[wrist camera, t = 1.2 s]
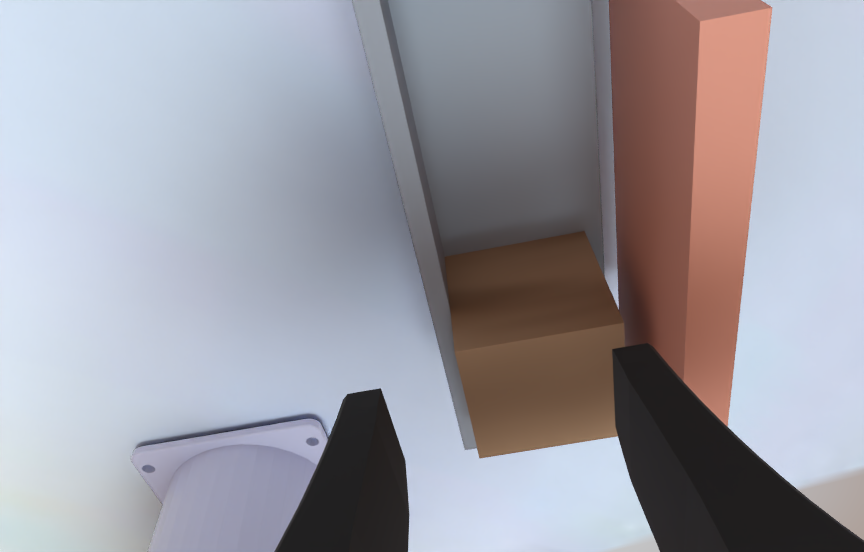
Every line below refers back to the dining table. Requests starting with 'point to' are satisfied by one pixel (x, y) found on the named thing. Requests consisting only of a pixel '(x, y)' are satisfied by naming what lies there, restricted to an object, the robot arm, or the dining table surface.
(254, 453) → the robot arm
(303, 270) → the dining table surface
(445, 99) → the grey boxy piece
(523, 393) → the block
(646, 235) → the thick rectangular slab
